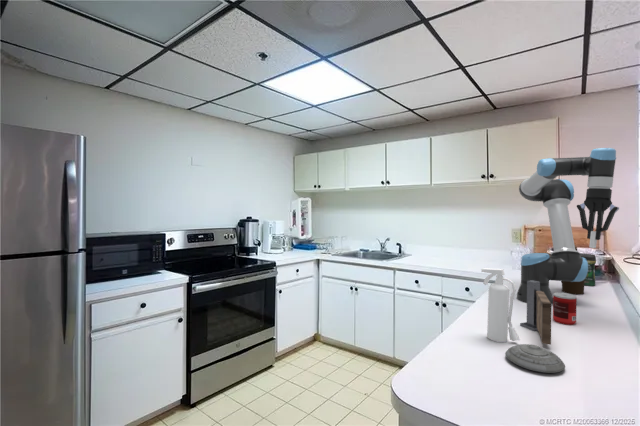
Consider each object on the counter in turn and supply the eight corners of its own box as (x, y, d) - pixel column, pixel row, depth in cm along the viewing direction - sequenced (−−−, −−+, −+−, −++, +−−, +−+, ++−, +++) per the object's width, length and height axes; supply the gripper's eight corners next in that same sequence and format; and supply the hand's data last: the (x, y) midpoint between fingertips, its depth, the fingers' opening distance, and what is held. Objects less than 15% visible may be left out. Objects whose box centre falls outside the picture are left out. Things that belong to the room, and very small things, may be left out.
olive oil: (590, 294, 172) (591, 247, 172) (573, 295, 170) (574, 248, 170) (572, 289, 183) (572, 245, 182) (555, 290, 181) (556, 245, 180)
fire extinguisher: (515, 347, 108) (516, 273, 108) (478, 337, 117) (479, 268, 117) (522, 342, 113) (523, 270, 112) (486, 332, 122) (486, 265, 121)
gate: (535, 324, 125) (535, 290, 125) (542, 325, 124) (543, 290, 123) (542, 343, 108) (542, 303, 108) (550, 344, 107) (551, 304, 107)
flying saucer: (509, 348, 108) (509, 332, 108) (566, 362, 99) (566, 344, 99) (500, 365, 97) (501, 347, 96) (563, 383, 87) (564, 363, 87)
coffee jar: (573, 284, 194) (574, 253, 194) (575, 282, 200) (576, 252, 200) (595, 287, 188) (595, 255, 187) (596, 284, 193) (596, 253, 193)
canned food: (573, 319, 134) (573, 293, 134) (578, 326, 127) (579, 298, 127) (550, 317, 138) (551, 291, 137) (555, 323, 130) (555, 296, 130)
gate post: (520, 325, 128) (520, 280, 128) (531, 323, 130) (532, 279, 129) (534, 331, 122) (534, 283, 122) (546, 329, 124) (546, 282, 124)
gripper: (624, 189, 124) (616, 250, 126) (582, 188, 135) (575, 244, 137) (618, 188, 120) (611, 251, 122) (575, 187, 131) (569, 245, 132)
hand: (592, 247), depth 129 cm, fingers closed
